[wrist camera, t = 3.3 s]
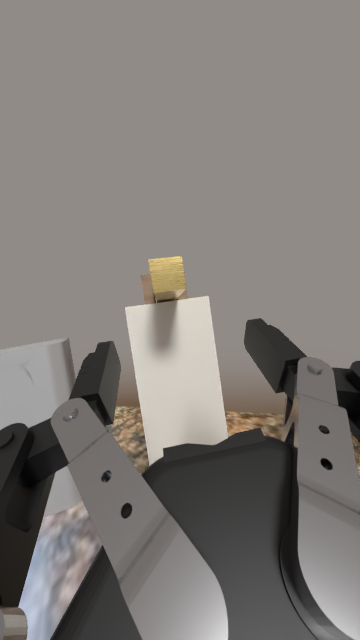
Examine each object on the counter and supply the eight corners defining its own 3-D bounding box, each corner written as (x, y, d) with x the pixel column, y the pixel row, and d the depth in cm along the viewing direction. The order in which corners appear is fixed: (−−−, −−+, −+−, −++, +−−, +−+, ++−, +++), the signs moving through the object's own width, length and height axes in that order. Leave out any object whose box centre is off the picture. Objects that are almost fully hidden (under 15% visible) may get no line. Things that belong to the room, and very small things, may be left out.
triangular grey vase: (16, 566, 26) (-23, 359, 24) (-30, 526, 32) (-62, 361, 31) (119, 459, 43) (99, 334, 42) (75, 447, 49) (57, 339, 48)
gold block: (158, 305, 41) (156, 291, 41) (172, 303, 42) (170, 289, 41) (153, 293, 17) (148, 259, 17) (186, 288, 18) (181, 255, 18)
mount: (151, 444, 46) (127, 291, 45) (216, 431, 47) (195, 282, 46) (143, 543, 26) (100, 271, 25) (256, 516, 27) (221, 256, 26)
